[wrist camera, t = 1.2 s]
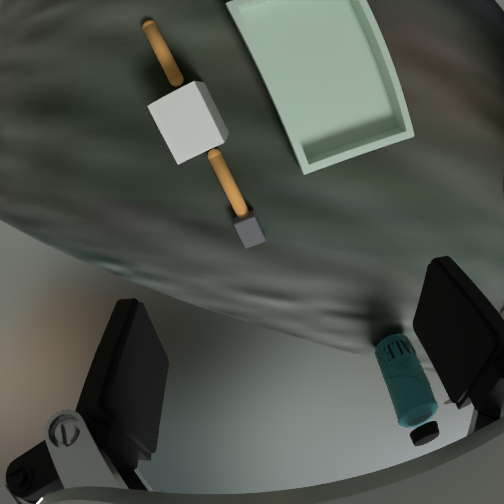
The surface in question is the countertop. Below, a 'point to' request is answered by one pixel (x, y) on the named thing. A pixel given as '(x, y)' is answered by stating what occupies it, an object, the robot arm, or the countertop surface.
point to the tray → (325, 76)
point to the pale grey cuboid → (189, 121)
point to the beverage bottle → (408, 387)
